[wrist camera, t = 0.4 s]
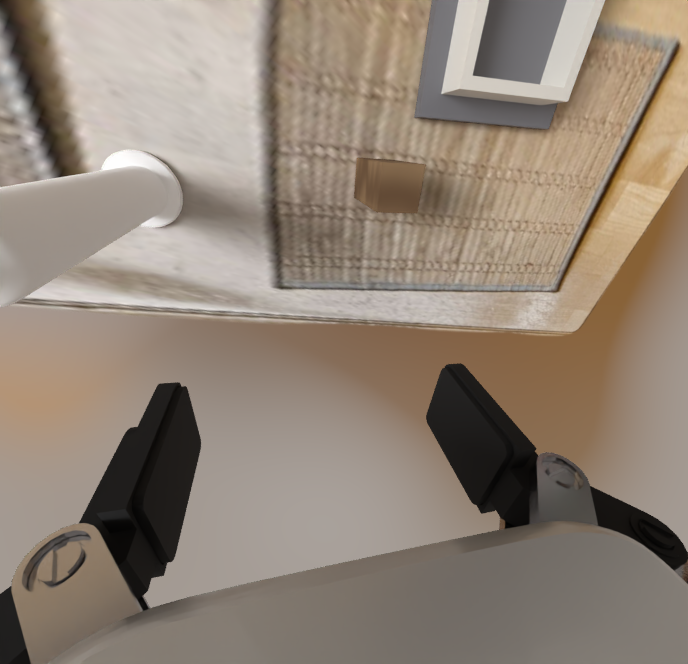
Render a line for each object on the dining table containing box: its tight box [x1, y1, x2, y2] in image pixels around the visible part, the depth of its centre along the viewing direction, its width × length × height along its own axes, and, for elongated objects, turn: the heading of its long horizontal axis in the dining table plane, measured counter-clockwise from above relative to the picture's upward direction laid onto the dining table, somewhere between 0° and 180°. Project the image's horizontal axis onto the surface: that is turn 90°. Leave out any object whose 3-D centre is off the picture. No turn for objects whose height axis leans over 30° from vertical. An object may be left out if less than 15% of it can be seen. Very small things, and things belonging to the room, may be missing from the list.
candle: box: [0, 150, 183, 308], centre depth 20 cm, size 7×7×25 cm
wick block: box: [354, 158, 426, 213], centre depth 30 cm, size 4×4×9 cm
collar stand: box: [414, 0, 605, 129], centre depth 27 cm, size 16×16×5 cm
